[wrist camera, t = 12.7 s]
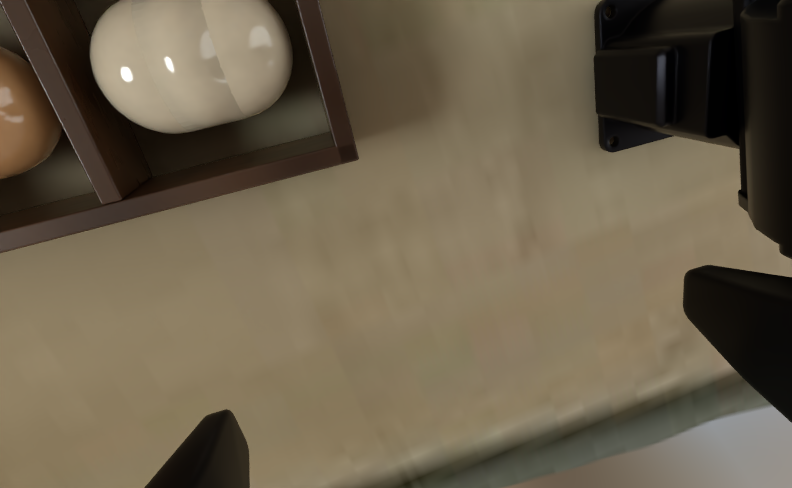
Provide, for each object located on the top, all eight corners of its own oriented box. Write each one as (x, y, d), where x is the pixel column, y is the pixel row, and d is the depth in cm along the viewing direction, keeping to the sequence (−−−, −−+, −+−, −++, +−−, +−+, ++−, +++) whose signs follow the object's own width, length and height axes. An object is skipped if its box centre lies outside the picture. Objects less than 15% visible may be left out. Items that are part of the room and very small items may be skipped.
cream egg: (273, -24, 17) (264, -49, 13) (308, 98, 19) (309, 108, 15) (97, 15, 16) (30, 1, 12) (150, 137, 18) (106, 159, 14)
